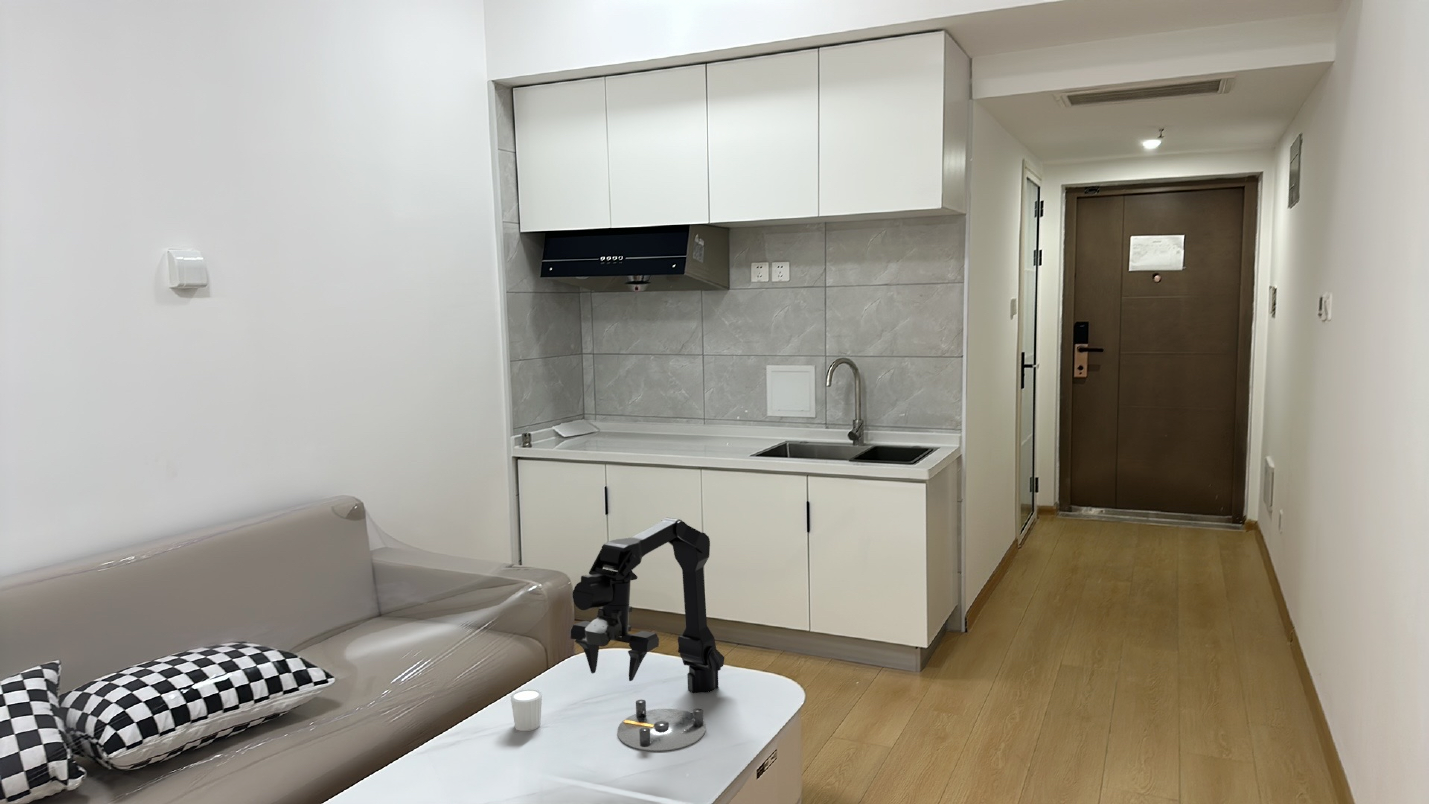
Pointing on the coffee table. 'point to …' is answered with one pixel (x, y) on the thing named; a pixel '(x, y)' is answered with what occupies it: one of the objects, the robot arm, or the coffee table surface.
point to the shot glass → (526, 709)
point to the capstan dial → (661, 728)
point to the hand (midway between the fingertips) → (611, 676)
